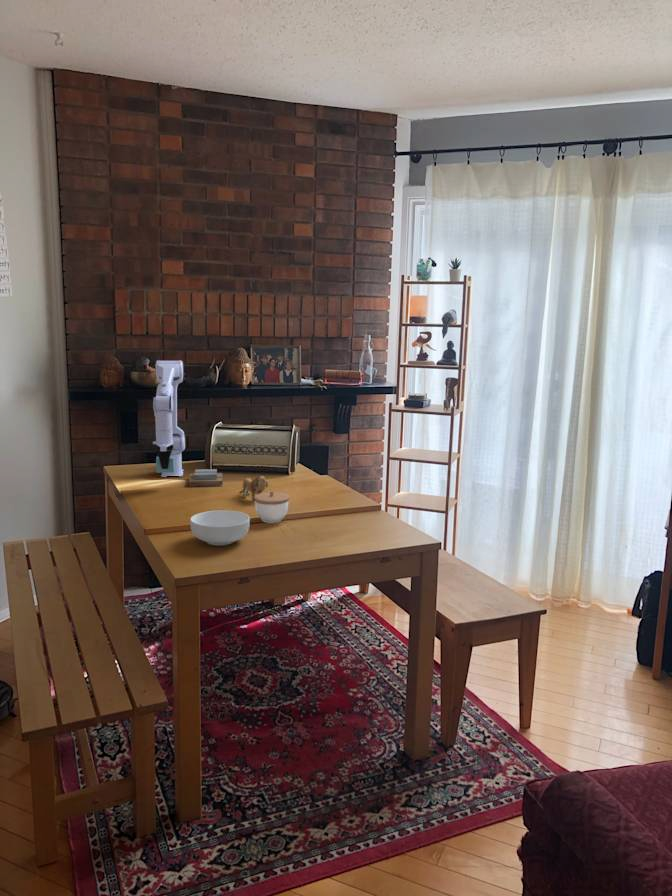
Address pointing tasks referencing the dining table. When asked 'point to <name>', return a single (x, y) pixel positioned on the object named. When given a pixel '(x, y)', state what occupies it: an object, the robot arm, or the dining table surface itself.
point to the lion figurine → (254, 486)
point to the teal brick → (170, 467)
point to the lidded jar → (271, 506)
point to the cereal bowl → (220, 526)
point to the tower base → (206, 482)
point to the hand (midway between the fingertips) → (165, 467)
